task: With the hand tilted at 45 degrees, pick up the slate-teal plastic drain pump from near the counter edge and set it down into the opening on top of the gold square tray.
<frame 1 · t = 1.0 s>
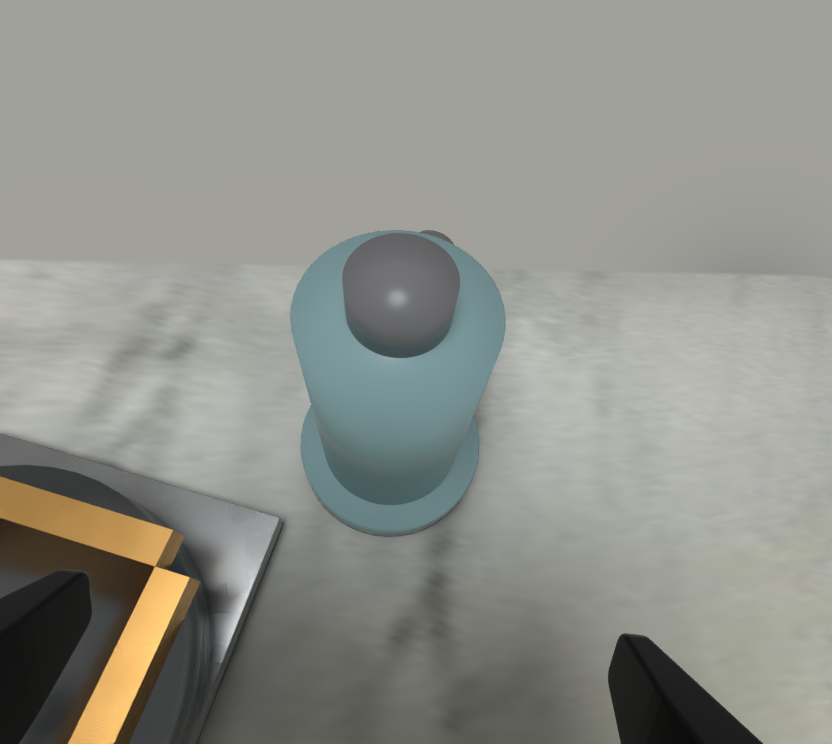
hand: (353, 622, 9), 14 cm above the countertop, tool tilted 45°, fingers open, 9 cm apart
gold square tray: (24, 678, 19), on the countertop
pump: (390, 449, 25), on the countertop
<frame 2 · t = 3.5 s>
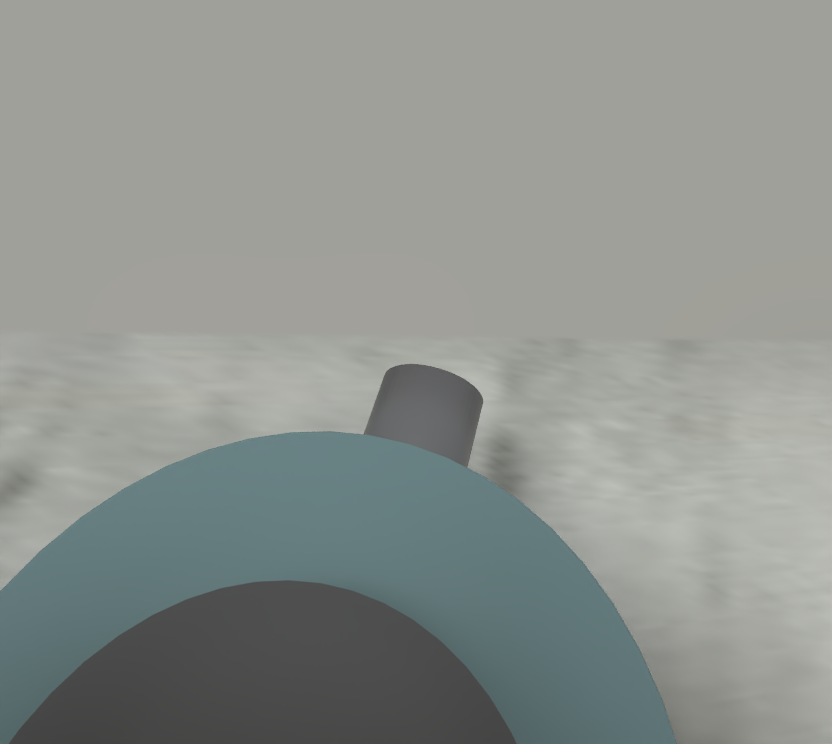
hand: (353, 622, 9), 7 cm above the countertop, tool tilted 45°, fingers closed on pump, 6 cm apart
pump: (356, 685, 14), on the countertop, touching gripper
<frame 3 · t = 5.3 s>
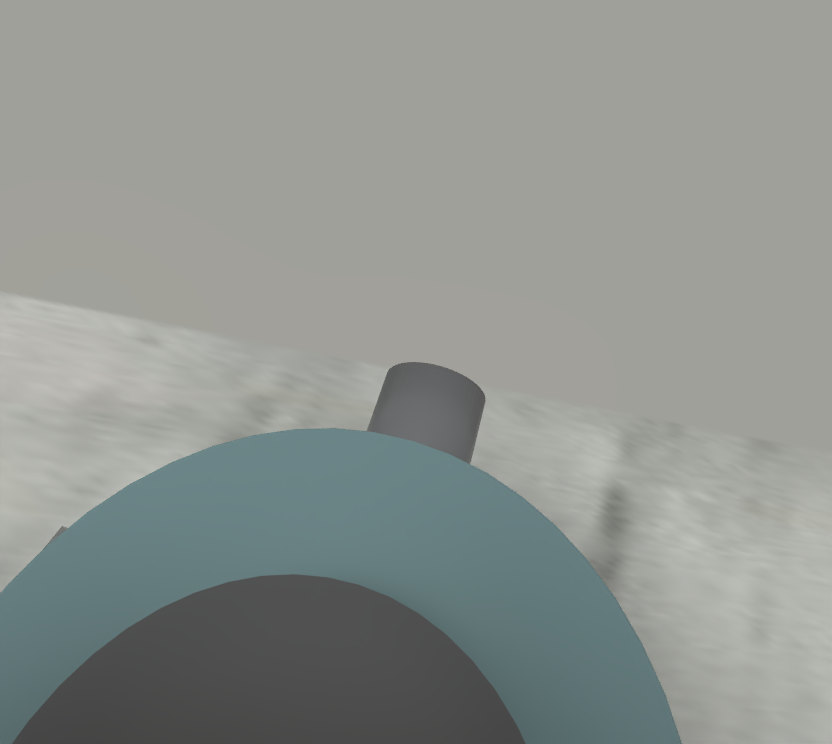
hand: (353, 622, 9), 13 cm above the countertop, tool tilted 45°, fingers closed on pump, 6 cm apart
pump: (357, 683, 14), point 7 cm above the countertop, touching gripper
when the fingers open (11 cm above the countertop, at t = 7.4 s): pump stays where it is, resting on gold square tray.
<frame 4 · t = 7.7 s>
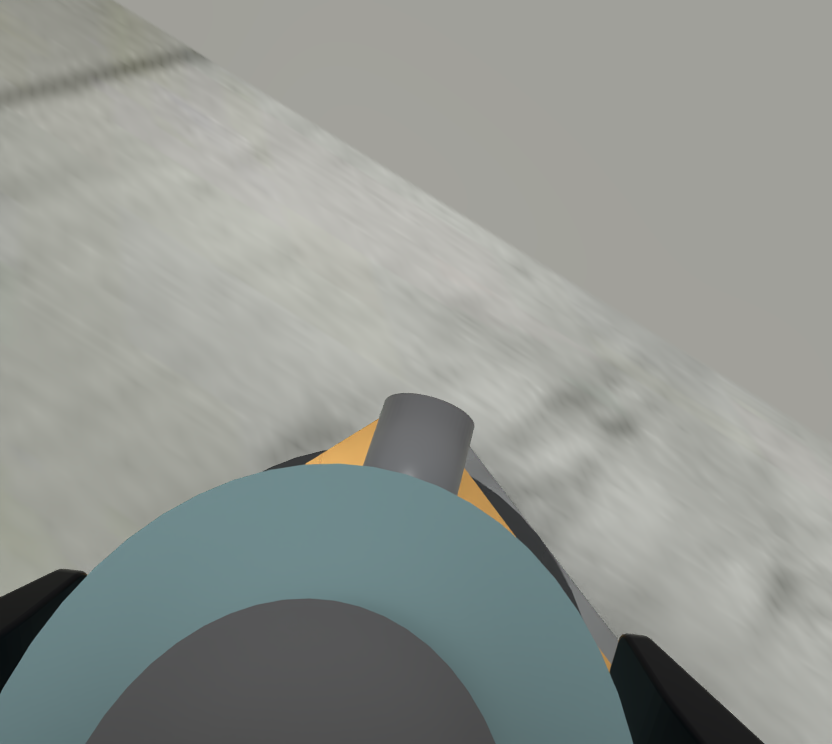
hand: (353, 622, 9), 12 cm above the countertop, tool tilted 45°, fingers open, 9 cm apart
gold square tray: (361, 672, 18), on the countertop
pump: (357, 683, 15), point 4 cm above the countertop, touching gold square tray
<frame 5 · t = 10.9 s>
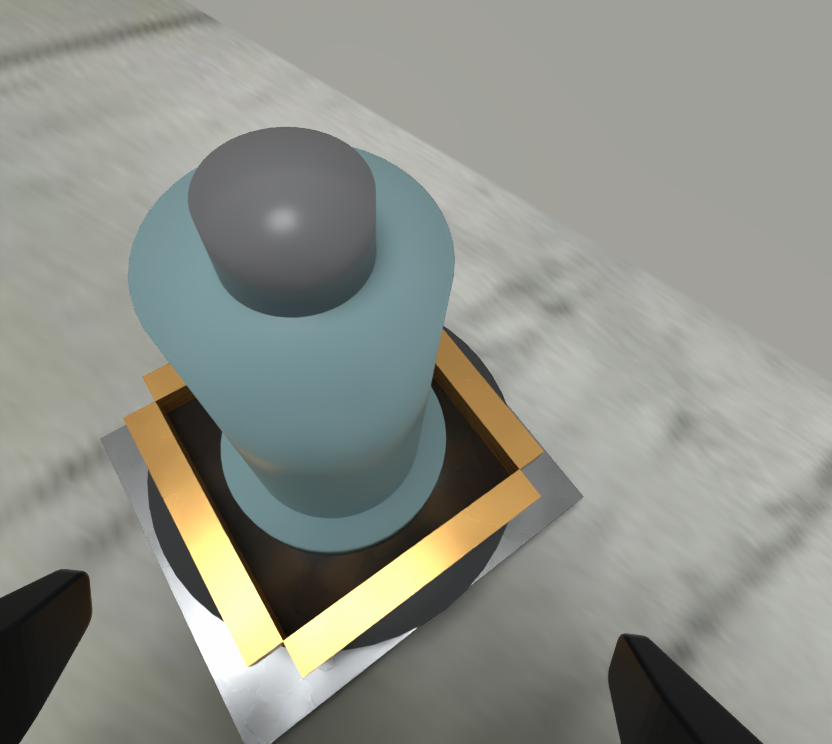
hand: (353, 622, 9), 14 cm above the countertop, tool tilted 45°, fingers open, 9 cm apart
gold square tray: (344, 474, 24), on the countertop
pump: (338, 446, 20), point 4 cm above the countertop, touching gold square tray
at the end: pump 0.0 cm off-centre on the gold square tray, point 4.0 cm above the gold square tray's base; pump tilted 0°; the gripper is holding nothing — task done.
